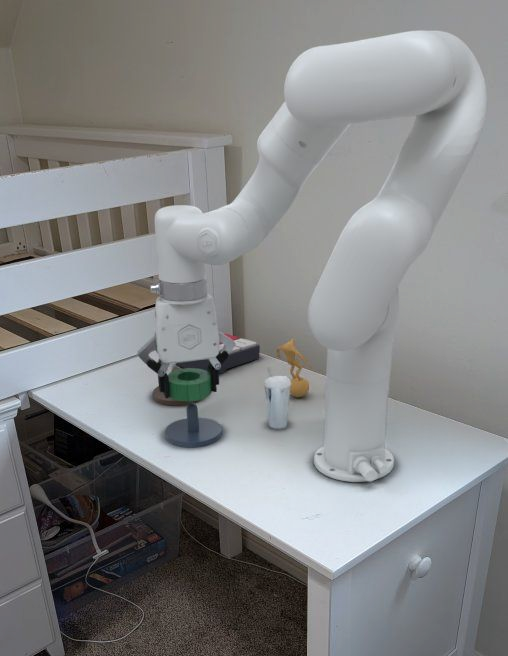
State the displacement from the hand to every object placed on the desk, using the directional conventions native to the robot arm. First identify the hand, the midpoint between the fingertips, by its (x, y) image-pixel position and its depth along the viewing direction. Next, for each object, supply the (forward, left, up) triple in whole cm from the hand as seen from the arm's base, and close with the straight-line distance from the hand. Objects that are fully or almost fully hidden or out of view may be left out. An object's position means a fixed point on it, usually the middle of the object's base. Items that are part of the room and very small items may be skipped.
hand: (189, 391), depth 127 cm
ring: (0, 0, 0) cm, 0 cm away
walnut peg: (+18, -1, -8) cm, 20 cm away
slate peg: (0, 0, -8) cm, 8 cm away
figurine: (+9, -22, -8) cm, 25 cm away
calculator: (+33, -13, -8) cm, 36 cm away
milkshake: (-1, -15, -8) cm, 17 cm away
